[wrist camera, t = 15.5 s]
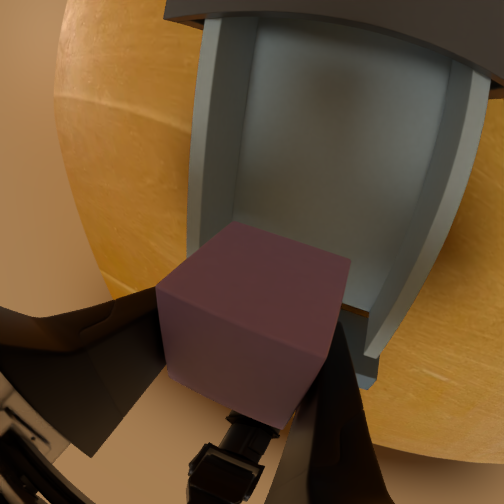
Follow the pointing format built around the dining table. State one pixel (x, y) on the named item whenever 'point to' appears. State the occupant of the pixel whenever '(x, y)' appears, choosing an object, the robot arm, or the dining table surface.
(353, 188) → the drawer
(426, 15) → the cabinet
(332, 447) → the robot arm
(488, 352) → the dining table surface
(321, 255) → the cube
